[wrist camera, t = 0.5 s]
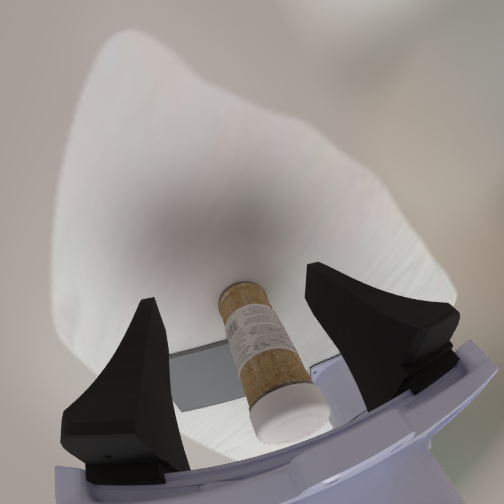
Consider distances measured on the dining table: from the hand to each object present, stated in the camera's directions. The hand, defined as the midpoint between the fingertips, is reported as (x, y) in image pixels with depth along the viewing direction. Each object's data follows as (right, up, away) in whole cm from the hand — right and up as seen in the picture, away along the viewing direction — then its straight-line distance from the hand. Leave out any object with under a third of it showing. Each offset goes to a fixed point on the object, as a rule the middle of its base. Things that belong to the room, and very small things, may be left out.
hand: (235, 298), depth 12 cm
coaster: (-4, -12, +16) cm, 20 cm away
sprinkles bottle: (0, -2, +13) cm, 13 cm away
